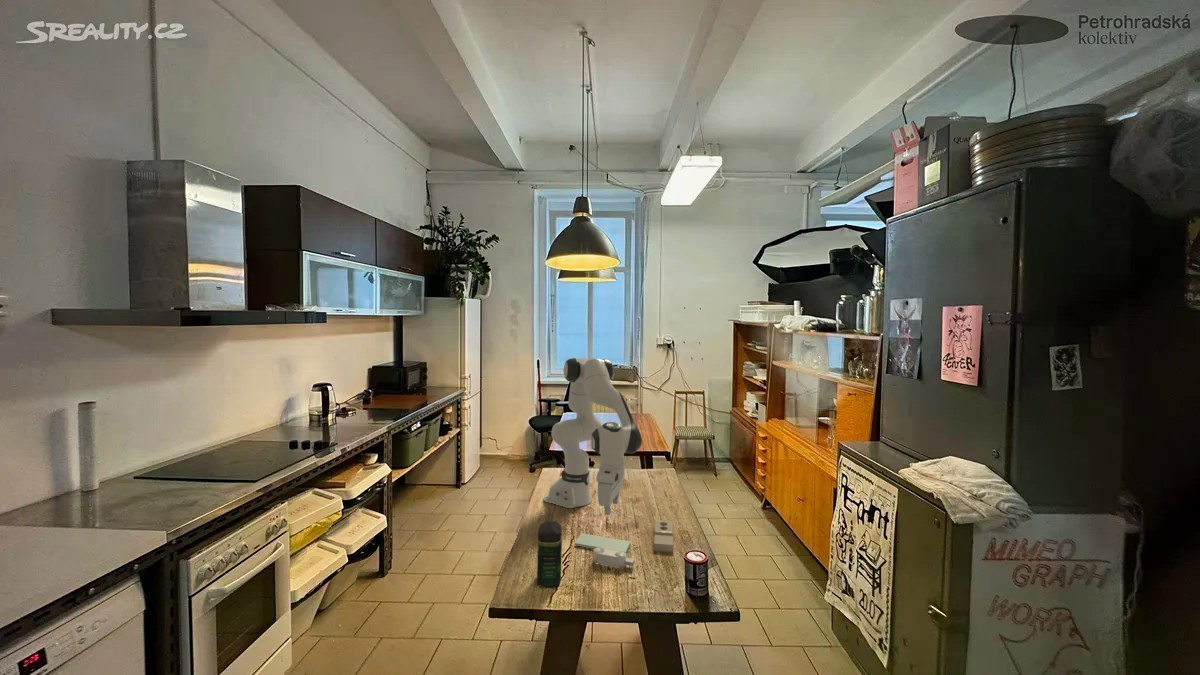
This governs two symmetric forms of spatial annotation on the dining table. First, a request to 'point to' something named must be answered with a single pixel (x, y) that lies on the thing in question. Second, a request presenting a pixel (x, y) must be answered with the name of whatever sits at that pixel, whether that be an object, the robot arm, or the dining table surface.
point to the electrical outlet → (663, 536)
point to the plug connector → (611, 558)
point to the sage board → (602, 542)
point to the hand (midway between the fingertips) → (611, 508)
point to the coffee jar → (549, 554)
